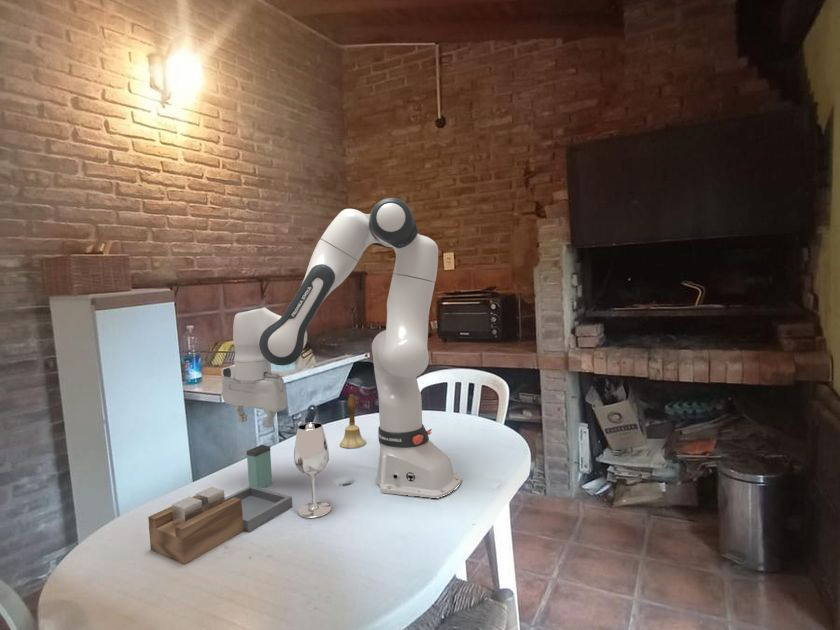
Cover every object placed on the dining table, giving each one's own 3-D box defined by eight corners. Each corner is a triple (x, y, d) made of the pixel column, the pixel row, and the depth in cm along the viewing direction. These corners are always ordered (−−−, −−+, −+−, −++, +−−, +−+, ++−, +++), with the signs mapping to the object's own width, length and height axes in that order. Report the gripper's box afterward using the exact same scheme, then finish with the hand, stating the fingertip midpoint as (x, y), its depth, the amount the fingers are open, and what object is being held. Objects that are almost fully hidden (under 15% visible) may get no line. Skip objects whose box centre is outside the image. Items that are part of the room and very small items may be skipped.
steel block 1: (203, 519, 105) (201, 500, 105) (185, 528, 102) (184, 508, 102) (190, 514, 107) (189, 496, 107) (173, 523, 104) (171, 504, 104)
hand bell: (352, 438, 168) (350, 390, 167) (371, 442, 164) (369, 393, 162) (334, 445, 162) (331, 396, 160) (353, 450, 157) (351, 399, 155)
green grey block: (264, 481, 136) (261, 444, 135) (272, 483, 134) (270, 446, 133) (248, 488, 131) (246, 451, 130) (257, 491, 130) (254, 452, 129)
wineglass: (302, 522, 113) (297, 433, 111) (293, 508, 120) (288, 424, 118) (336, 513, 117) (331, 427, 115) (326, 500, 123) (321, 419, 122)
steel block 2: (225, 508, 110) (224, 490, 110) (209, 516, 107) (208, 497, 106) (213, 504, 112) (211, 486, 112) (197, 511, 109) (195, 493, 108)
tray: (292, 506, 120) (291, 496, 120) (248, 532, 109) (247, 521, 109) (251, 495, 127) (250, 485, 127) (205, 518, 116) (205, 507, 116)
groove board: (243, 530, 110) (241, 499, 109) (185, 564, 98) (182, 529, 97) (210, 519, 116) (208, 489, 115) (150, 549, 104) (147, 516, 103)
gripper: (292, 372, 127) (294, 426, 129) (236, 365, 138) (238, 415, 139) (273, 376, 122) (275, 433, 123) (216, 369, 132) (218, 421, 134)
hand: (255, 424), depth 131 cm, fingers open, 8 cm apart
